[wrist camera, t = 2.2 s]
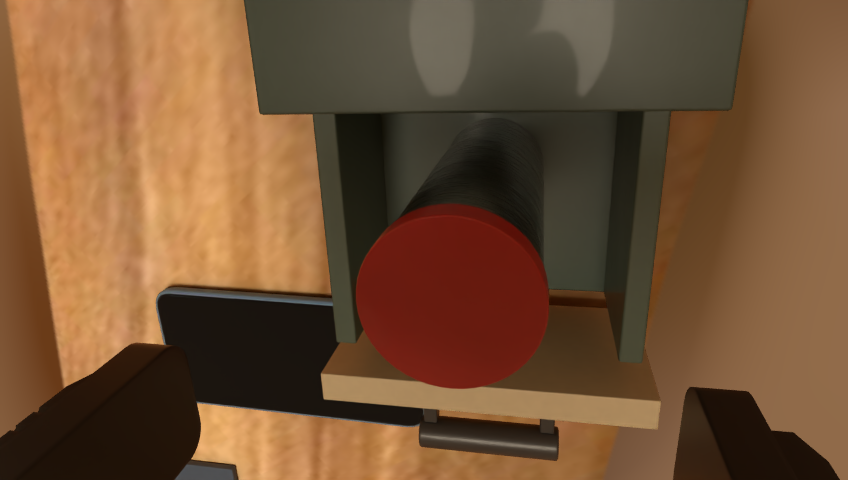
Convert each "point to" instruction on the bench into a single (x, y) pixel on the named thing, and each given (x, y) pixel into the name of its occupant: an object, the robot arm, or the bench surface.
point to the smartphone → (263, 353)
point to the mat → (207, 471)
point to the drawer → (563, 262)
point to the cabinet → (494, 55)
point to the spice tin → (463, 264)
